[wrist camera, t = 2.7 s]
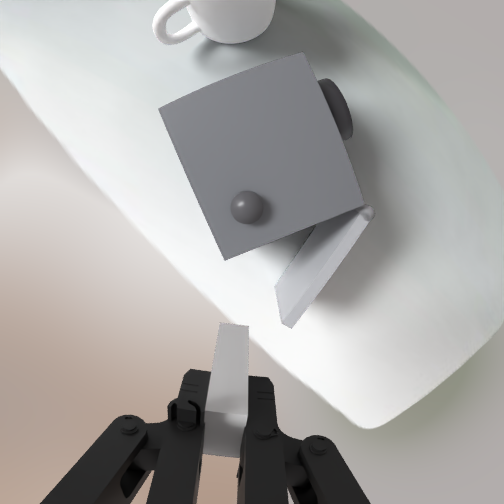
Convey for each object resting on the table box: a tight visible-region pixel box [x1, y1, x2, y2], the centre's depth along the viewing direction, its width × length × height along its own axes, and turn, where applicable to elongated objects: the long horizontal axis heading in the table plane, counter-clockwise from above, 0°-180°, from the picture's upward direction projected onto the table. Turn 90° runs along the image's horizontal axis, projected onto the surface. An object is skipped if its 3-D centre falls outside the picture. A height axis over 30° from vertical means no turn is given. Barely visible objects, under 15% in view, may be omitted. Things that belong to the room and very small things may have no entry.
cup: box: [153, 0, 276, 45], centre depth 20 cm, size 8×12×10 cm
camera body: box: [158, 52, 365, 260], centre depth 24 cm, size 12×13×10 cm
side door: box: [275, 204, 375, 329], centre depth 28 cm, size 2×12×8 cm, turn 147°
